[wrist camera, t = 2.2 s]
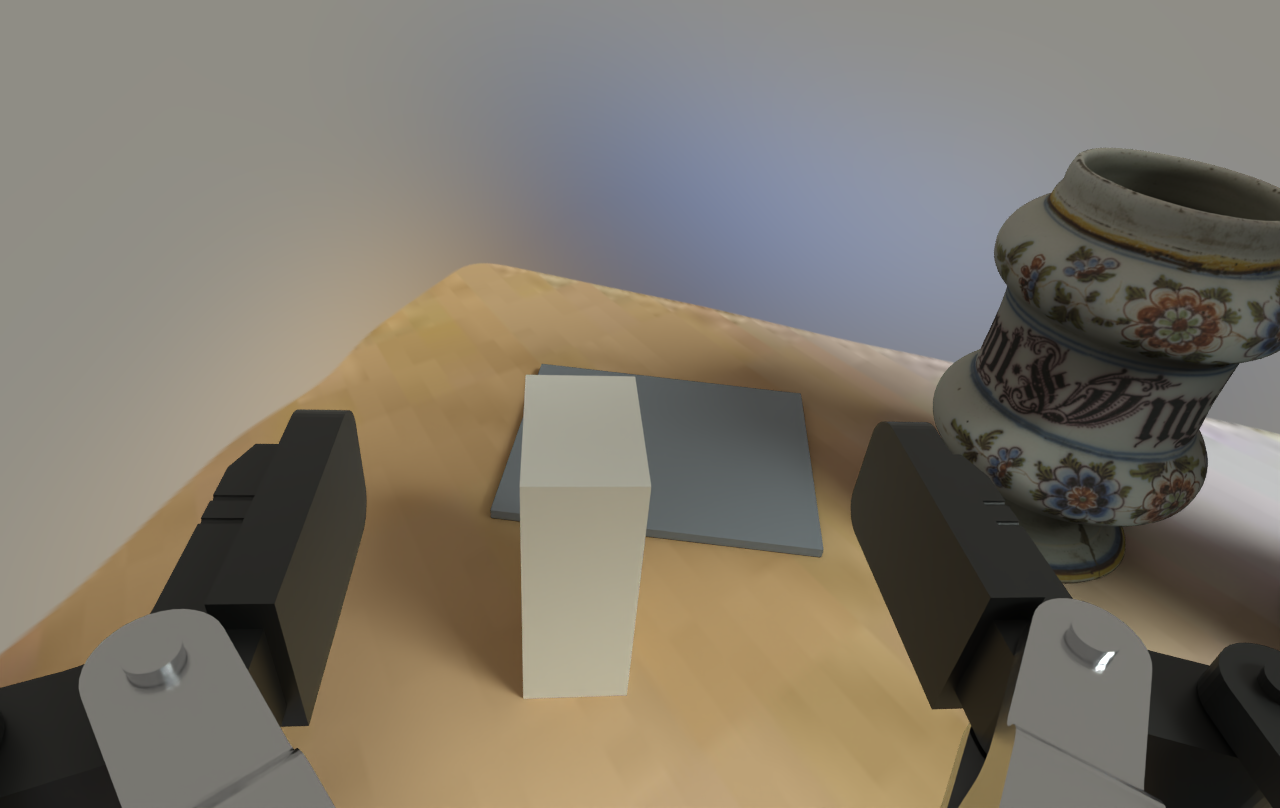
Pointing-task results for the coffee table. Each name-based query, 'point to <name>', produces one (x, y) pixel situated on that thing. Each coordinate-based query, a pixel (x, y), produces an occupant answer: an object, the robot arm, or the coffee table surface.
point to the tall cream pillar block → (581, 533)
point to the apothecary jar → (1114, 346)
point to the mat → (713, 465)
